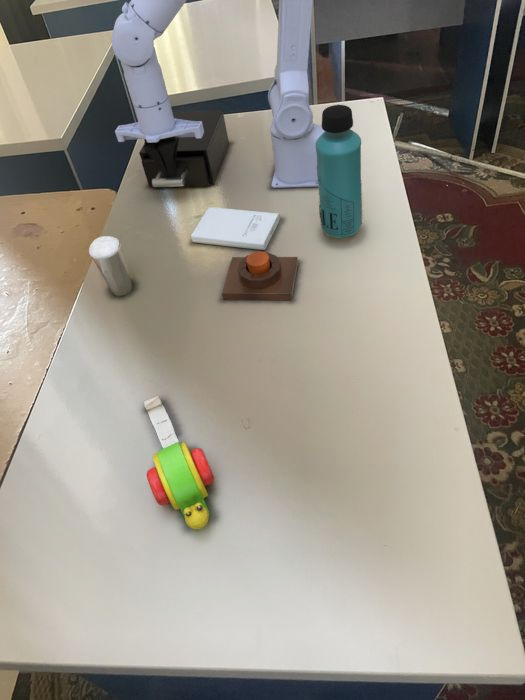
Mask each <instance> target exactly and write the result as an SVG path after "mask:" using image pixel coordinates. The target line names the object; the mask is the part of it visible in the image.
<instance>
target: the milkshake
mask: <svg viewBox="0 0 525 700" xmlns="http://www.w3.org/2000/svg"><path fill="white" fill-rule="evenodd" d="M121 238H122V237H121V235H120V236H119V239H118V238H117V237H114V236H112V235H103V236H99V237H97V238H95V239H94V240H93V241H92V242H91V244H90V245H89V248H88V253H89V255H90V257H91V259H92V261H93V262H94V263H95V265H96V268H97V269H98V271H99V272H100V274H101V276H102V278H103V279H104V282H105V283H106V285H107V287H108V289H109V291H110V292H111V294H112V295H114V296H115V297H123V296H126V295H128V294H129V293H130V292H131V291H132V290H133V282H132V279H131V275H130V273H129V268H128V266H127V262H126V259H125V256H124V252H123V248H122V243H121Z"/></svg>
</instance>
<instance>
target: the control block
mask: <svg viewBox="0 0 525 700" xmlns="http://www.w3.org/2000/svg"><path fill="white" fill-rule="evenodd" d="M264 252H265V253H267V254H268V256H269V261H270V269H269V271H268V272H266V273H263V274H251V273H250V272H249V270H248V265H247V257H248V256H249V255H250V254H248V255H246V256H232V258H231V260H230V264H229V267H228V270H227V275H226V278H225V282H224V285H223V289H222V292H221V295H222V298H223V300H225V301H226V300H229V301H230V300H231V301H235V300H237V301H242V300H243V301H244V300H245V301H292V300H293V298H294V297H293V296H294V291H295V286H296V285H295V284H296V278H297V273H298V267H299V259H298V256H278V255H275V254H273V253H272V252H271V253H270V252H267V251H264Z"/></svg>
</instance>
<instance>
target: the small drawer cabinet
mask: <svg viewBox="0 0 525 700" xmlns="http://www.w3.org/2000/svg"><path fill="white" fill-rule="evenodd" d="M172 113H173V116H174V118H175V119H181V120H188V121H202V124H203V129H204V134H203V136H202V138H195V137H179V142H178V147H177V155H184V154H204V158H205V163H206V167H207V171H208V177H209V185H208V186H214V185H215V183H216V181H217V177H218V175H219V172H220V170H221V167H222V165H223V161H224V159H225V156H226V153H227V150H228V148H229V145H230V142H229V141H230V140H229V135H228V131H227V130H228V129H227V125H226V121H225V120H226V119H225V115H224V110H223V109H216V110H214V109H213V110H197V111H180V112H172ZM144 145H145V143H143V145H142V146H141V149H140V151H139V152H138V155H139V156H140V160H141V161H142V159H143V158H149V156H150V155H149V154H147V153H146V152H145V150H144V148H143V147H144Z"/></svg>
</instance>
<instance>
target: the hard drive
mask: <svg viewBox="0 0 525 700" xmlns="http://www.w3.org/2000/svg"><path fill="white" fill-rule="evenodd" d="M280 220H281V216H280V213H279V212H278V213H277V212H268V211H267V212H266V211H256V210H247V209H238V208H237V209H236V208H227V207H226V208H225V207H213V206H209V207H208V208H207V209H206V211H205V212H204V214H203V215H202V217H201V219H200V220H199V222H198V223H197V225H196V226H195V228H194V229H193V231H192V232H191V235H190V238H191V242H192V243H196V244H197V243H198V244H204V245H214V246H222V247H232V248H239V249H241V248H242V249H249V250H258V251H266V249H267V247H268V245H269V243H270V241H271V239H272V237H273V235H274V233H275V231H276V229H277V227H278V226H279V223H280Z"/></svg>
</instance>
